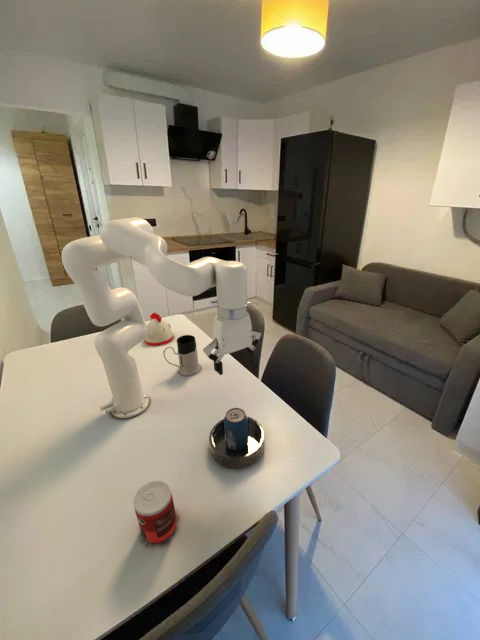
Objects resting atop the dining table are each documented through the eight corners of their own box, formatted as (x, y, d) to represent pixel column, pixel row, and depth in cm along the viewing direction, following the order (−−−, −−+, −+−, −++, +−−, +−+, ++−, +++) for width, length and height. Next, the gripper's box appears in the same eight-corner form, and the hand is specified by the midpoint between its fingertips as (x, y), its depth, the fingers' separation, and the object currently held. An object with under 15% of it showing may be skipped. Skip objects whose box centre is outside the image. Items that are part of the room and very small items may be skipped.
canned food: (147, 511, 71) (139, 481, 67) (180, 508, 72) (174, 478, 67) (137, 546, 64) (127, 516, 60) (174, 543, 65) (167, 512, 60)
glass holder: (203, 370, 125) (200, 340, 119) (170, 382, 118) (165, 350, 111) (195, 361, 132) (191, 332, 125) (164, 372, 124) (158, 341, 118)
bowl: (227, 480, 79) (226, 468, 77) (201, 441, 91) (200, 430, 89) (274, 450, 88) (274, 439, 86) (245, 418, 100) (244, 408, 98)
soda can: (246, 434, 93) (245, 405, 88) (249, 452, 86) (248, 421, 81) (225, 437, 92) (222, 407, 87) (226, 455, 85) (224, 425, 80)
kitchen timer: (157, 348, 142) (152, 321, 136) (139, 341, 149) (134, 314, 143) (178, 337, 153) (175, 311, 146) (161, 330, 160) (157, 305, 153)
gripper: (252, 299, 81) (252, 351, 88) (194, 313, 72) (200, 370, 79) (268, 308, 76) (267, 363, 83) (208, 324, 66) (212, 384, 74)
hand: (234, 366), depth 81 cm, fingers open, 9 cm apart
